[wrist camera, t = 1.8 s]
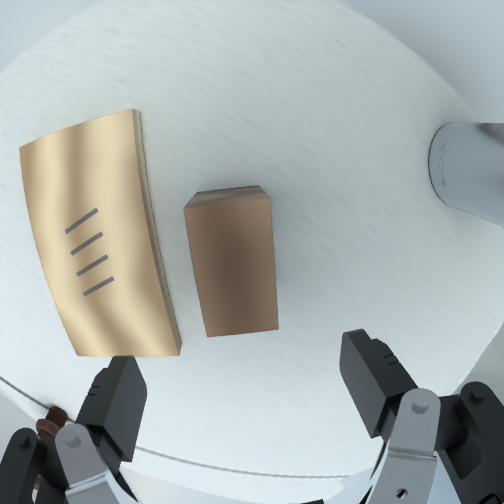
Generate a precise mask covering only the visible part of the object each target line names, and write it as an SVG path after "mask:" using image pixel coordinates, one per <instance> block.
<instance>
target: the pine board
mask: <svg viewBox="0 0 504 504" xmlns="http://www.w3.org/2000/svg"><path fill="white" fill-rule="evenodd" d="M19 150H20V161H21V170H22V178H23V185H24V191H25V197H26V203H27V208H28V213H29V218H30V223H31V227H32V232H33V236H34V240H35V244H36V247H37V251H38V255H39V258H40V262H41V265H42V268H43V271H44V275H45V278H46V281H47V284H48V287H49V289H50V292H51V295H52V298H53V300H54V303H55V306H56V308H57V311H58V313H59V316H60V318H61V321H62V323H63V326H64V328H65V330H66V332H67V335H68V337H69V339H70V341H71V343H72V346H73V348H74V350H75V352H76V354H77V356H91V357H113V356H116V355H132V356H133V357H159V356H179V355H180V350H181V345H182V342H181V338H180V335H179V331H178V328H177V324H176V320H175V316H174V312H173V308H172V304H171V300H170V296H169V292H168V288H167V283H166V279H165V274H164V270H163V265H162V261H161V256H160V251H159V246H158V241H157V235H156V230H155V225H154V219H153V213H152V207H151V201H150V194H149V188H148V181H147V174H146V166H145V158H144V149H143V140H142V130H141V119H140V112H139V111H136V110H134V109H129V110H125V111H121V112H117V113H114V114H110V115H106V116H103V117H100V118H96V119H93V120H90V121H87V122H84V123H81V124H78V125H75V126H72V127H69V128H66V129H63V130H61V131H58V132H55V133H53V134H50V135H47V136H45V137H42V138H40V139H38V140H35V141H33V142H31V143H28V144H26V145H24V146H22V147H19Z"/></svg>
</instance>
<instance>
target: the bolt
mask: <svg viewBox="0 0 504 504" xmlns="http://www.w3.org/2000/svg"><path fill="white" fill-rule="evenodd" d="M66 421H67V415H66V414H65V412H64V411H62V410H60V409H59V408H55V407H53V408H50V410H49V412H48V414H47V416H46V418H45V419H38V421H37V423H36V430H37V432H38V434H37V435H38V436H39V437H50V436H56V435H57V433H58V431H59V430H60V429H61V428H63V427H64V425H65V422H66ZM40 482H41V478H40V477H39V476H38V475H37V478H36V482H35V485H34V489H36V490H38V489H39V485H40Z"/></svg>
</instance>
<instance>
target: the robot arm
mask: <svg viewBox="0 0 504 504" xmlns="http://www.w3.org/2000/svg"><path fill="white" fill-rule="evenodd" d="M429 168H430V176H431V180H432V184H433V186H434V189H435V191H436V193H437V194H438V196H439V198H440V199H441V200H442V201H443V202H444V203H446V204H447V205H449V206H451V207H454V208H456V209H459V210H462V211H465V212H467V213H470V214H473V215H475V216H477V217H480V218H483V219H485V220H488V221H490V222H493V223H495V224H497V225H500V226H502V227H504V124H501V123H449V124H447V125H445V126H443V127H442V128H441V129H440V130H439V131H438V132H437V134H436V135H435V137H434V139H433V142H432V145H431V150H430V156H429ZM340 372H341V375H342V378H343V380H344V382H345V384H346V386H347V388H348V390H349V393H350V395H351V397H352V399H353V401H354V403H355V405H356V407H357V409H358V412H359V414H360V416H361V418H362V420H363V422H364V424H365V427H366V429H367V431H368V433H369V435H370V437H371V439H372V438H375V437H378V436H381V437H382V439H383V441H384V442H383V444H382V446H381V449H380V452H379V455H378V457H377V460H376V463H375V465H374V468H373V470H372V473H371V475H370V477H369V480H368V482H367V484H366V486H365V489H364V490H363V492H362V494H361V496H360V498H359V500H358V502H357V504H426V503H427V500H428V497H429V493H430V489H431V486H432V482H433V477H434V474H435V470H436V465H437V457H436V456H433V451H437V452H438V454H439V456H440V458H441V461H442V463H443V464H444V467H445V469H446V471H447V473H448V475H449V477H450V479H451V481H452V484H453V486H454V488H455V490H456V493H457V495H458V497H459V499H460V502H461V504H504V406H503V405H502V403H501V402H500V401H499V399H498V398H497V397H496V395H495V394H494V393H493V391H492V390H491V389H490V388H489V387H488V386H487V385H486V384H483V383H481V382H470V383H467V384H466V385H465V386H464V387H463V388H462V389H461V391H460V393H459V394H457V395H450V396H443V397H438V396H437V395H436V394H435V393H434V392H432V391H430V390H427V389H423V388H418V386H417V385H416V384H415V382H414V381H413V379H412V378H411V377H410V375H409V374H408V372H407V371H406V370H405V368H404V367H403V366H402V364H401V363H400V362H399V360H398V359H397V358H396V356H395V355H394V353H393V352H392V351H391V349H390V348H389V347H388V345H386V344H385V343H383V342H382V341H380V340H378V339H377V338H376V339H372V340H371V339H370V337H369V336H368V335H367V333H366V332H365V330H364V329H358V330H353V331H349V332H344V333H343V336H342V344H341V354H340ZM146 399H147V387H146V383H145V381H144V379H143V376H142V374H141V372H140V369H139V367H138V365H137V362H136V360H135V358H134V357H133V356H132V355H116V356H113V358H112V360H111V362H110V364H109V366H108V368H103V369H102V370H101V371H100V372H99V373H98V374H97V375H96V376H95V379H94V381H93V383H92V385H91V388H90V389H89V392H88V395H87V396H86V398H85V400H84V403H83V405H82V407H81V409H80V412H79V414H78V416H77V419H76V421H75V423H74V424H69V425H66V426H64V427H63V428H61V429H60V430H59V431H58V433H57V435H56V436H50V437H39V436H38V435H37V434H36V433H35V432H34V430H32V429H30V428H22V429H19V430H17V431H16V432H15V433H14V434H13V435H12V437H11V439H10V441H9V444H8V446H7V449H6V451H5V453H4V456H3V458H2V461H1V464H0V504H34V502H33V500H32V492H33V489H34V485H35V482H36V478H37V475H38V476H39V477H40V478H41V482H40V485H39V489H38V493H37V497H36V500H35V504H143V503H142V502H141V500H140V499H139V497H138V496H137V494H136V493H135V492H134V490H133V488H132V487H131V485H130V483H129V482H128V480H127V479H126V477H125V475H124V474H123V472H122V470H121V469H120V464H121V461H124V462H132V459H133V454H134V449H135V445H136V440H137V436H138V431H139V427H140V423H141V419H142V415H143V411H144V406H145V402H146ZM471 435H472V436H471ZM474 440H475V441H474ZM302 504H324V502H323V499H321V500H316V501H312V502H307V503H302Z"/></svg>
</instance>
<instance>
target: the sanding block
mask: <svg viewBox="0 0 504 504" xmlns="http://www.w3.org/2000/svg"><path fill="white" fill-rule="evenodd" d="M184 215H185V221H186V228H187V234H188V240H189V246H190V252H191V258H192V264H193V269H194V275H195V280H196V285H197V291H198V296H199V301H200V306H201V311H202V316H203V320H204V325H205V330H206V334H207V337H215V336H226V335H236V334H245V333H254V332H262V331H270V330H278V329H279V325H278V308H277V291H276V275H275V261H274V246H273V232H272V219H271V206H270V198H269V197H268V196H267V195H266V193H265V192H264V191H263V190H262V189H261V188H260V187H259V186H248V187H238V188H229V189H221V190H212V191H204V192H197V193H196V194H195V195H194V197H193V198H192V199H191V200H190V201H189V202H188V204H187V205H186V206H185V207H184Z"/></svg>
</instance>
